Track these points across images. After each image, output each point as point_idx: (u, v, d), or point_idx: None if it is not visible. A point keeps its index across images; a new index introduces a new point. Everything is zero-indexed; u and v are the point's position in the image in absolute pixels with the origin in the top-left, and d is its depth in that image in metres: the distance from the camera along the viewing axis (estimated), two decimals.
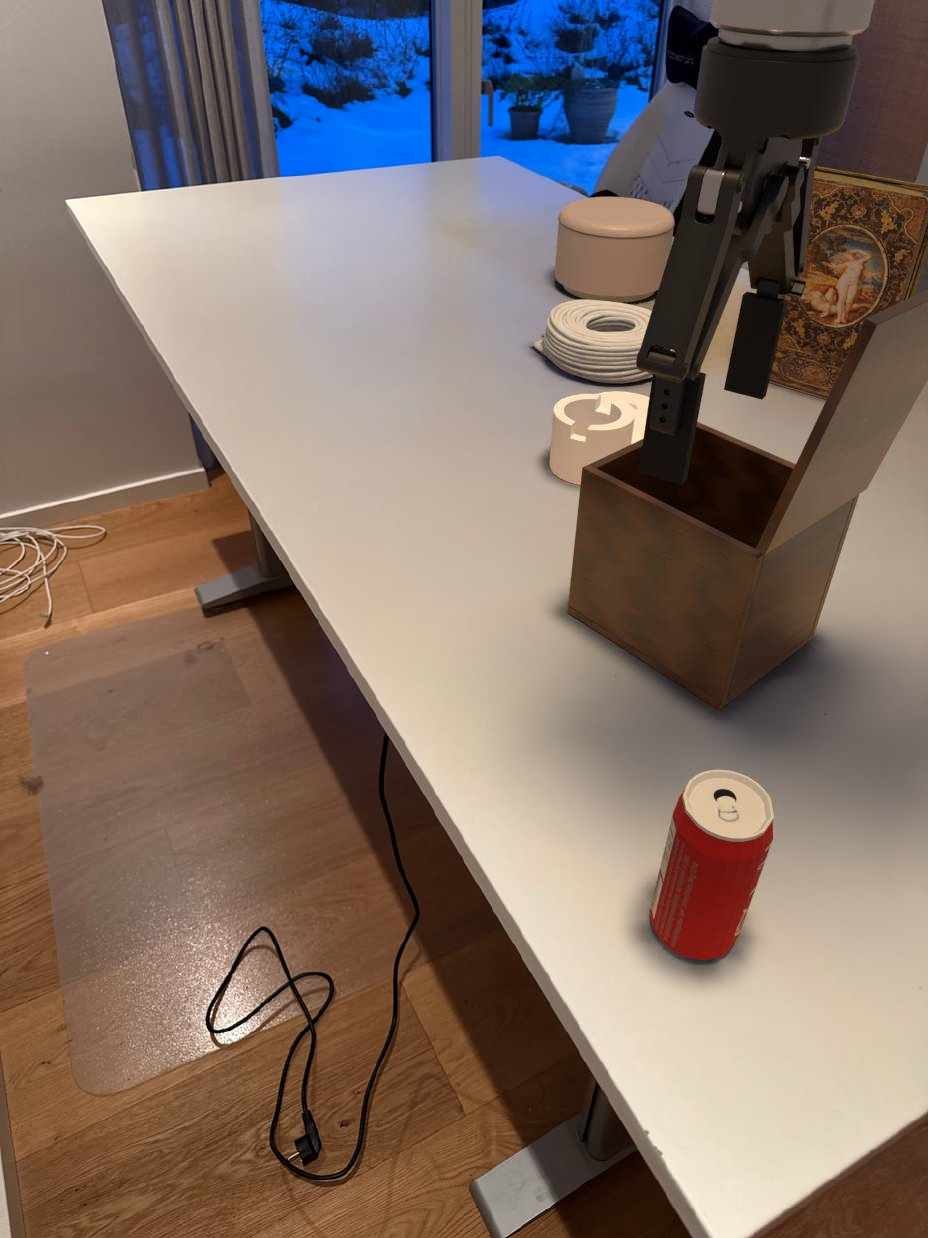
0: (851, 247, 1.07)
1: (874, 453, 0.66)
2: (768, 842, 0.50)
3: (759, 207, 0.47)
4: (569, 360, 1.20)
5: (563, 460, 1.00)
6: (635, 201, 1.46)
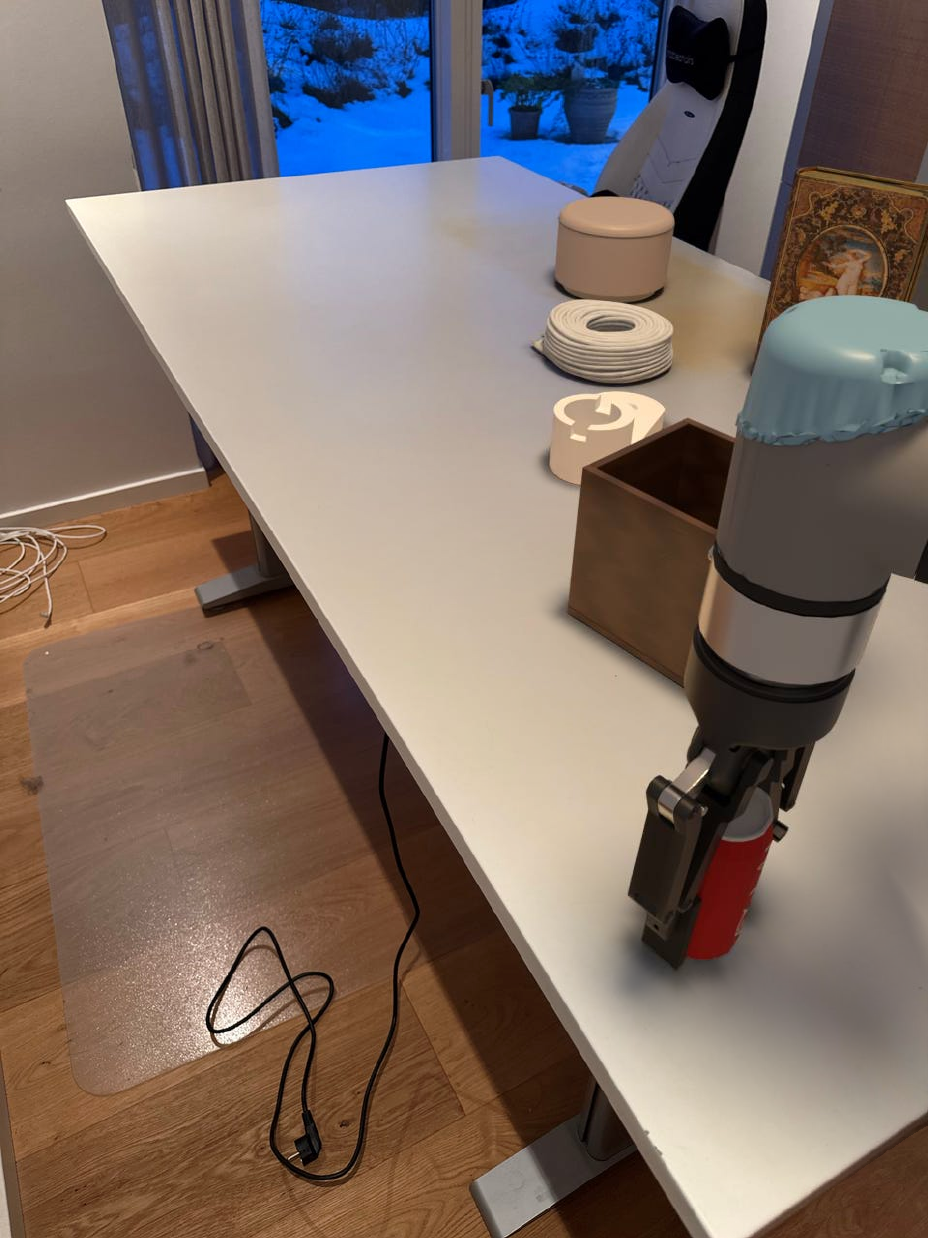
0: (851, 247, 1.07)
1: None
2: (768, 842, 0.50)
3: (739, 786, 0.46)
4: (569, 360, 1.20)
5: (563, 460, 1.00)
6: (635, 201, 1.46)
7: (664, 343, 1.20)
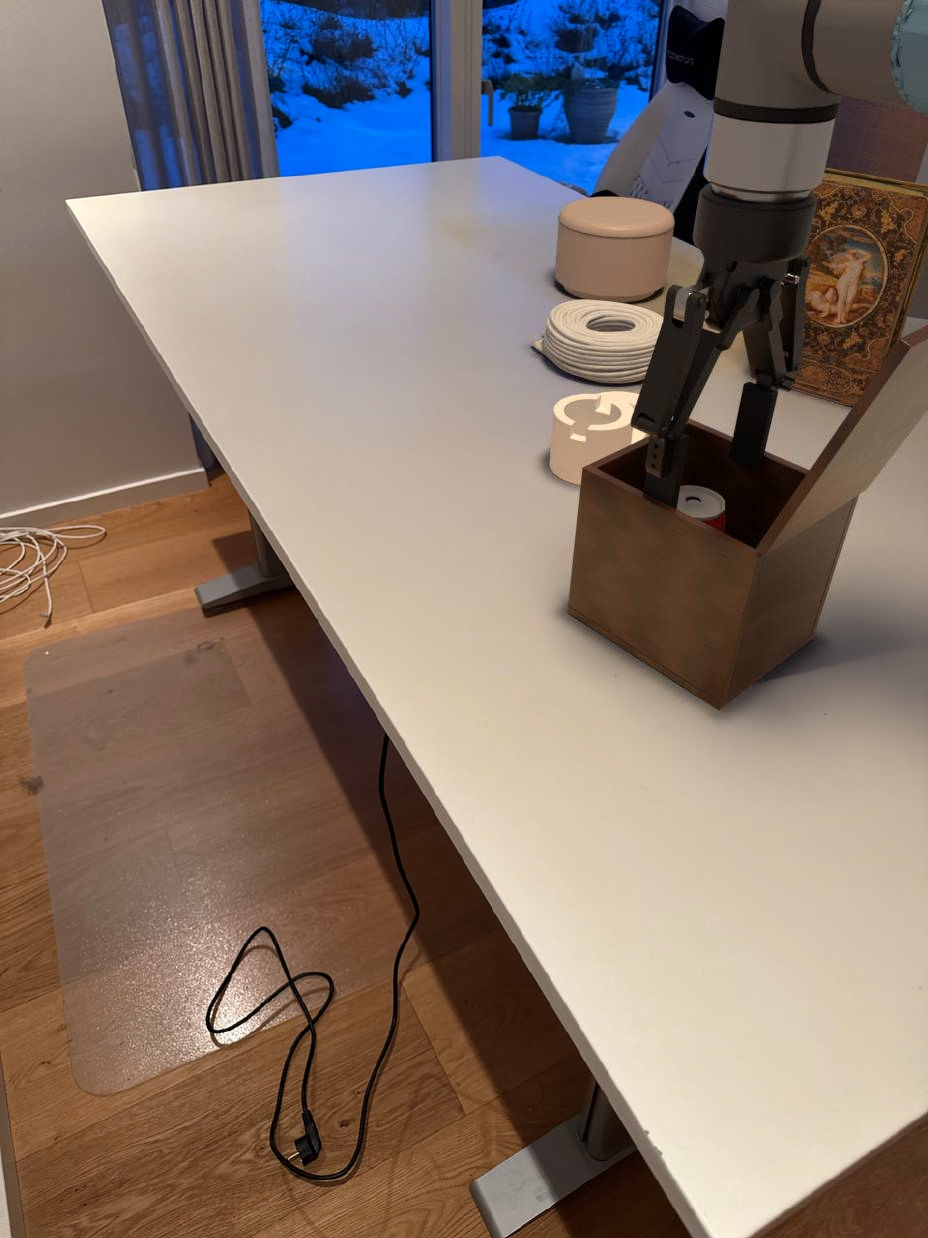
0: (851, 247, 1.07)
1: (880, 458, 0.66)
2: (720, 527, 0.74)
3: (732, 312, 0.63)
4: (569, 360, 1.20)
5: (563, 460, 1.00)
6: (635, 201, 1.46)
7: None
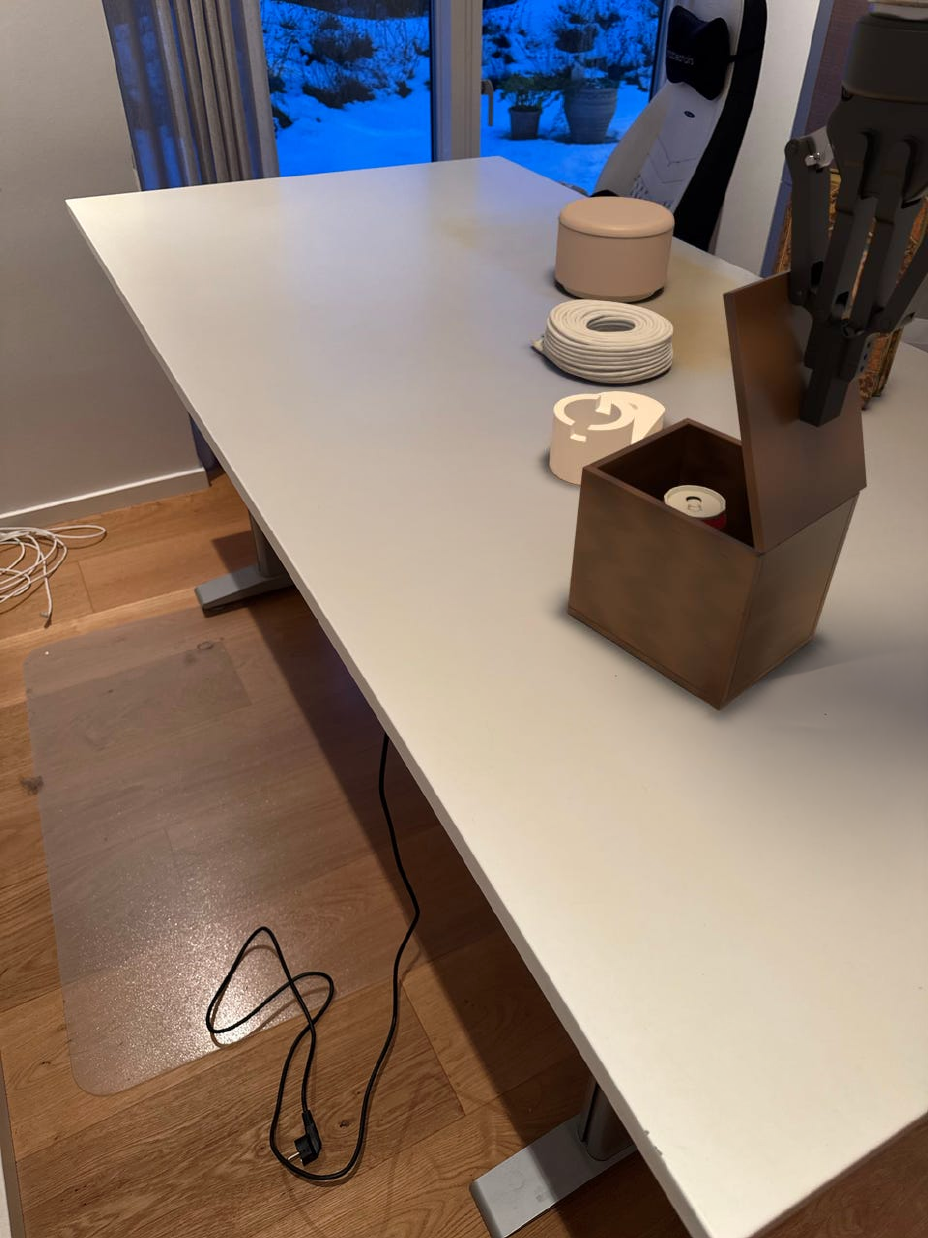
0: None
1: (844, 441, 0.67)
2: (721, 527, 0.74)
3: None
4: (569, 360, 1.20)
5: (563, 460, 1.00)
6: (635, 201, 1.46)
7: (664, 343, 1.20)
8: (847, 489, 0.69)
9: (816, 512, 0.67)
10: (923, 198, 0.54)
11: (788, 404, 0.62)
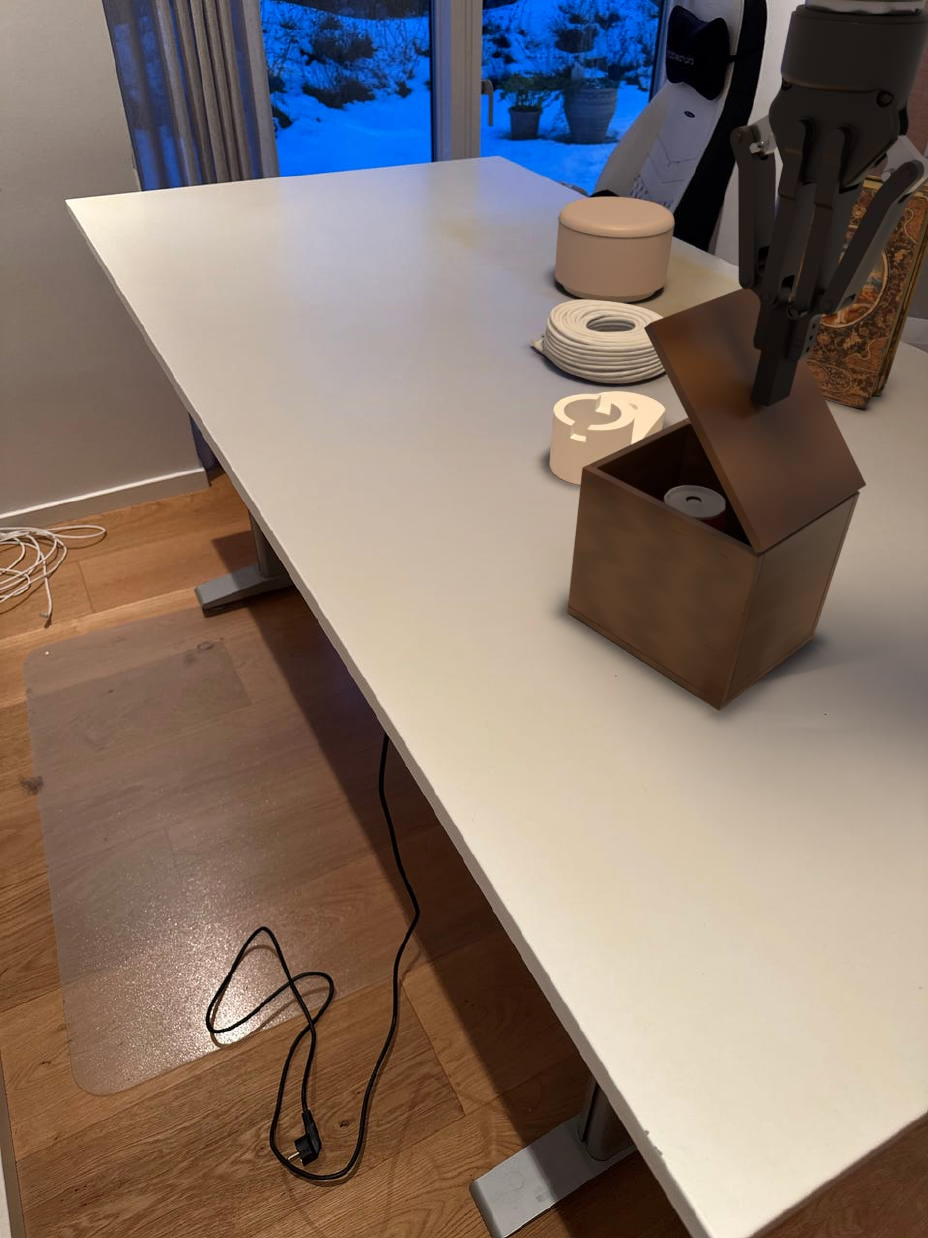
0: None
1: (822, 443, 0.69)
2: (721, 527, 0.74)
3: None
4: (569, 360, 1.20)
5: (563, 460, 1.00)
6: (635, 201, 1.46)
7: None
8: (843, 488, 0.69)
9: (813, 510, 0.67)
10: (861, 184, 0.57)
11: (744, 413, 0.65)
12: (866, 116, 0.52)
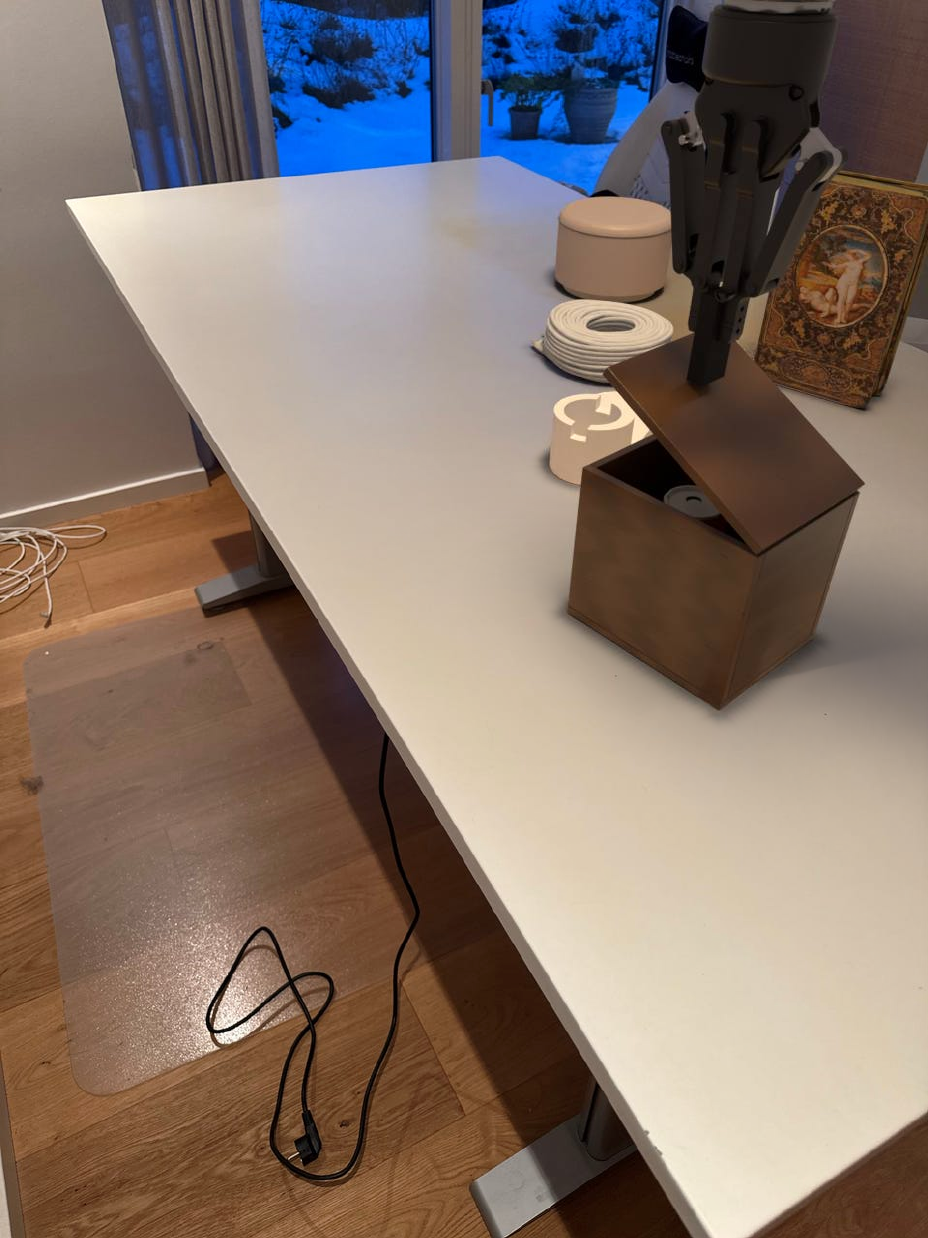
0: (851, 247, 1.07)
1: (807, 451, 0.70)
2: (721, 527, 0.74)
3: None
4: (569, 360, 1.20)
5: (563, 460, 1.00)
6: (635, 201, 1.46)
7: (664, 343, 1.20)
8: (839, 488, 0.69)
9: (810, 510, 0.67)
10: (781, 173, 0.60)
11: (718, 432, 0.68)
12: (780, 109, 0.56)
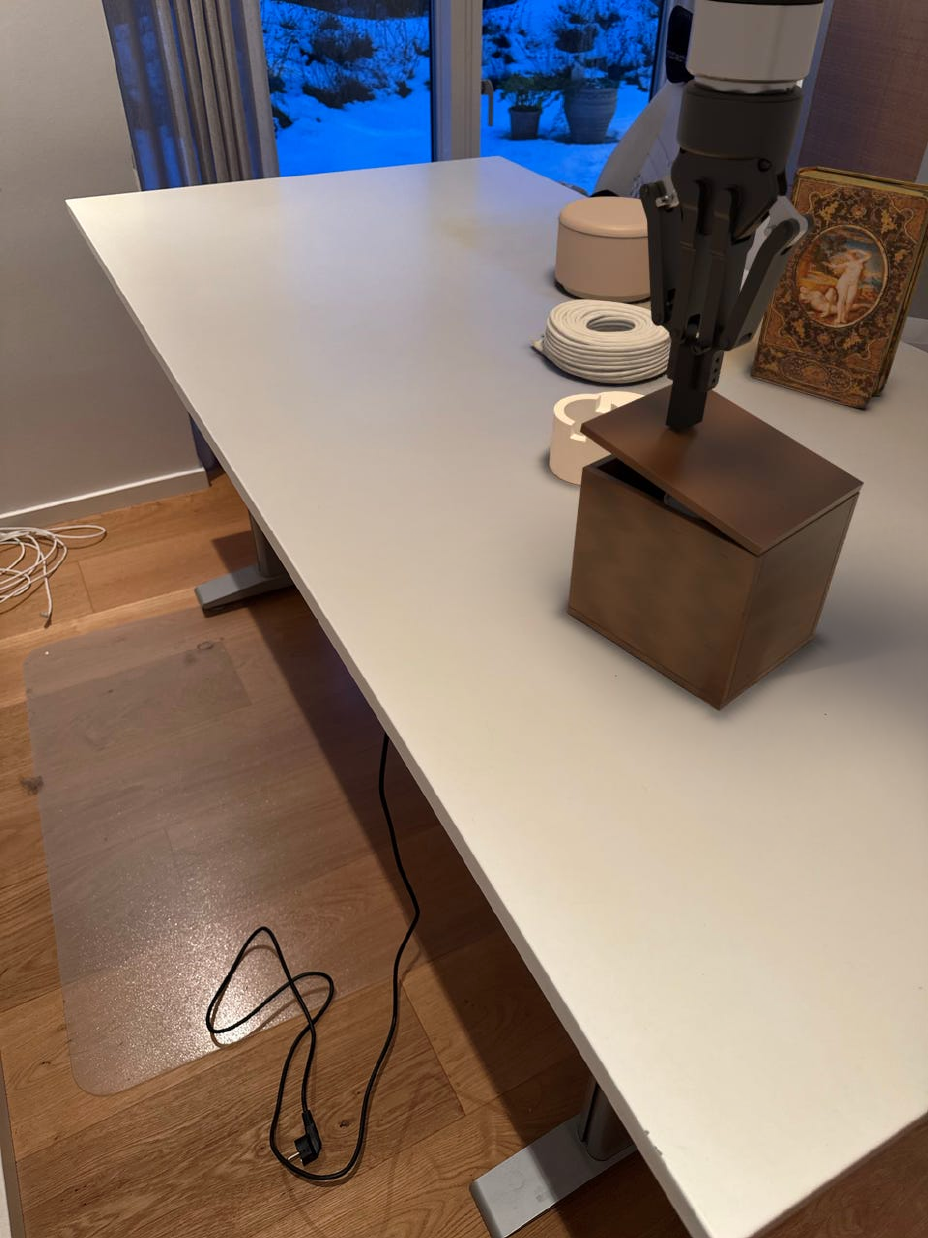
0: (851, 247, 1.07)
1: (797, 463, 0.71)
2: None
3: None
4: (569, 360, 1.20)
5: (563, 460, 1.00)
6: (635, 201, 1.46)
7: (664, 343, 1.20)
8: (836, 489, 0.69)
9: (808, 510, 0.67)
10: (753, 235, 0.63)
11: (700, 459, 0.70)
12: (749, 179, 0.59)
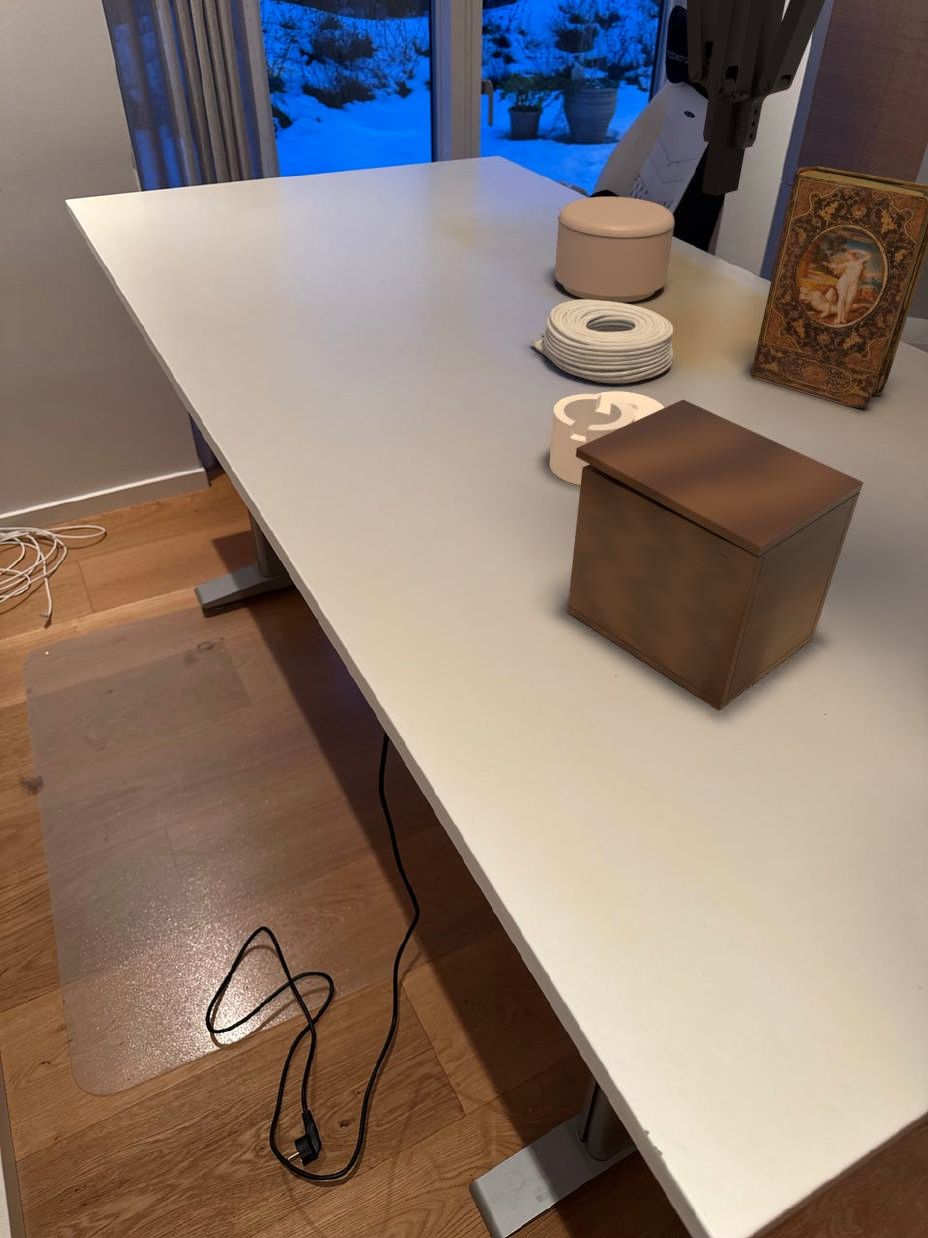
0: (851, 247, 1.07)
1: (794, 469, 0.72)
2: None
3: None
4: (569, 360, 1.20)
5: (563, 460, 1.00)
6: (635, 201, 1.46)
7: (664, 343, 1.20)
8: (835, 490, 0.70)
9: (807, 511, 0.67)
10: None
11: (696, 472, 0.71)
12: None
